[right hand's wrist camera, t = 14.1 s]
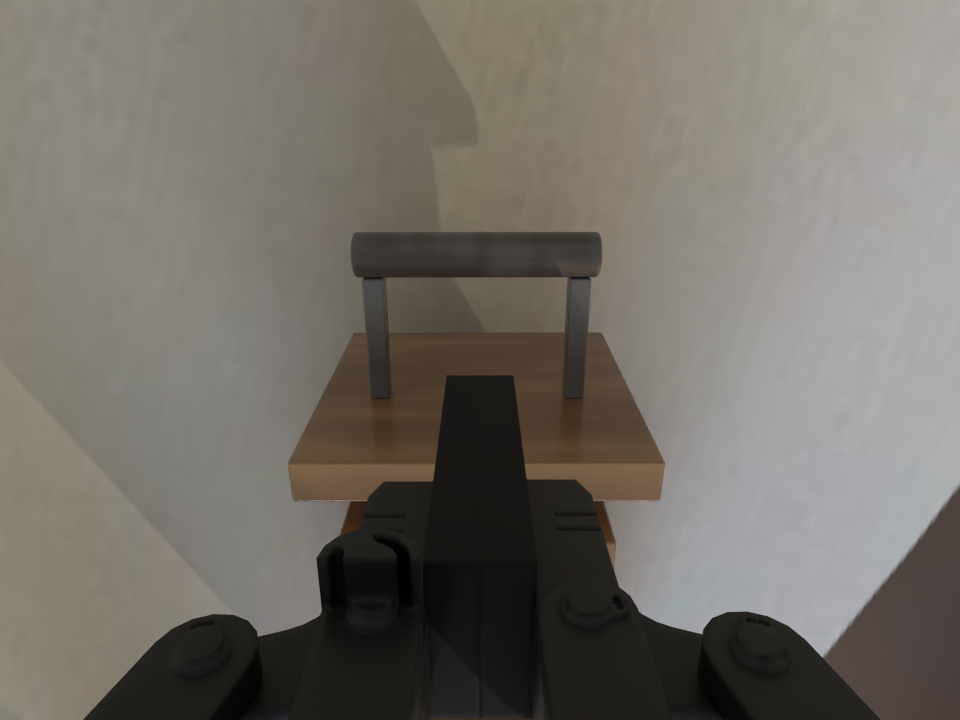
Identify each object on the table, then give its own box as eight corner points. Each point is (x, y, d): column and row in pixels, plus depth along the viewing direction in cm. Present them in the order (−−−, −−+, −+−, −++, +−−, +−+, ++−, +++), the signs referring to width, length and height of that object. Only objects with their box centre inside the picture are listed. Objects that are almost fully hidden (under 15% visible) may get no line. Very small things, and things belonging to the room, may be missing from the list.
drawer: (342, 200, 23) (260, 269, 15) (612, 199, 23) (690, 268, 15) (379, 653, 32) (342, 868, 23) (577, 653, 32) (614, 868, 23)
